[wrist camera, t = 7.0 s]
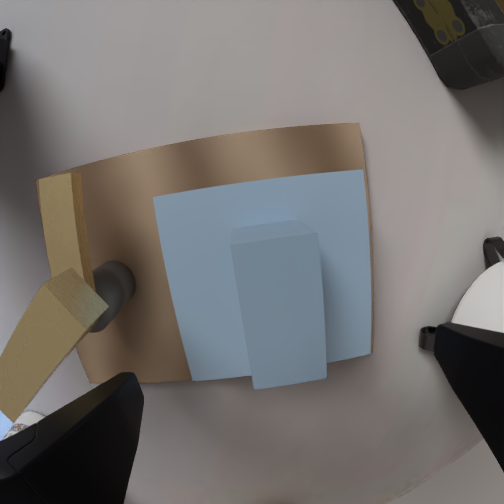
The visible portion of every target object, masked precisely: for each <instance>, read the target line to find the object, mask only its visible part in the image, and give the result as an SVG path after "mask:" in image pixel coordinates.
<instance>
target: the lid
mask: <svg viewBox="0 0 504 504" xmlns="http://www.w3.org/2000/svg"><path fill="white" fill-rule="evenodd" d="M153 202H154V208H155V214H156V220H157V226H158V232H159V237H160V243H161V248H162V253H163V258H164V263H165V268H166V273H167V278H168V283H169V287H170V292H171V296H172V301H173V305H174V310H175V314H176V318H177V322H178V326H179V330H180V335H181V339H182V342H183V346H184V350H185V354H186V358H187V362H188V365H189V369H190V373H191V376H192V380H193V381H204V380H215V379H225V378H235V377H243V376H251V375H252V381H253V387H254V390H258V389H265V388H272V387H279V386H286V385H292V384H298V383H304V382H309V381H315V380H320V379H325V378H327V364H326V363H331V362H336V361H341V360H346V359H350V358H355V357H359V356H364V355H368V354H370V351H371V266H370V244H369V227H368V214H367V202H366V192H365V182H364V173H363V169H362V170H349V171H338V172H327V173H317V174H307V175H298V176H289V177H281V178H273V179H265V180H257V181H250V182H242V183H235V184H228V185H222V186H215V187H209V188H202V189H196V190H190V191H184V192H179V193H173V194H167V195H162V196H156V197H153Z"/></svg>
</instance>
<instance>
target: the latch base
mask: <svg viewBox="0 0 504 504" xmlns="http://www.w3.org/2000/svg"><path fill="white" fill-rule="evenodd" d="M362 169H363V173H364V182H365V192H366V202H367V214H368V227H369V244H370V266H371V351H370V353H372V352H373V327H374V283H373V252H372V233H371V219H370V206H369V195H368V185H367V176H366V167H365V159H364V151H363V144H362V137H361V131H360V124H359V123H342V124H324V125H309V126H297V127H286V128H276V129H266V130H258V131H250V132H242V133H235V134H228V135H221V136H215V137H208V138H202V139H196V140H191V141H185V142H180V143H175V144H170V145H165V146H160V147H155V148H150V149H146V150H141V151H137V152H132V153H128V154H124V155H120V156H116V157H112V158H108V159H104V160H100V161H97V162H93V163H89V164H86V165H82V166H79V167H75V168H72V169H69V170H65V171H62V172H59V173H56V174H52V175H49V176H46V177H43V178H40V179H44V178H48V177H53V176H57V175H62V174H67V173H81V186H82V198H83V208H84V217H85V226H86V234H87V241H88V248H89V254H90V261H91V267H92V272H93V278H94V283H95V288H96V293H97V294H98V295H99V296H100V297H101V298H102V300H103V301H104V302H105V303H106V304H107V305H108V306H109V307H108V308H107V309H106V310H105V311H104V313H103V314H102V315H101V316H100V319H99V321H98V323H97V324H96V325H95V326H94V327H93V328H92V329H91V330H90V331H89V333H88V334H87V335H86V336H85V337H84V338H83V339H82V340H81V341H80V342H79V343H78V345H77V346H76V349H77V352H78V354H79V357H80V360H81V362H82V365H83V367H84V370H85V372H86V375H87V377H88V379H89V382H90V383H104V382H106V381H107V380H109V379H111V378H112V377H114V376H116V375H117V374H119V373H121V372H133V373H135V375H136V376H137V379H138V382H139V383H156V382H176V381H191V380H192V376H191V373H190V369H189V365H188V362H187V358H186V354H185V350H184V346H183V342H182V339H181V335H180V330H179V326H178V322H177V318H176V314H175V310H174V305H173V301H172V296H171V292H170V287H169V283H168V278H167V273H166V268H165V263H164V258H163V253H162V248H161V243H160V237H159V232H158V226H157V220H156V214H155V208H154V202H153V197H156V196H162V195H167V194H173V193H179V192H184V191H190V190H196V189H202V188H209V187H215V186H222V185H228V184H235V183H242V182H250V181H257V180H265V179H273V178H281V177H289V176H298V175H307V174H317V173H327V172H338V171H349V170H362ZM36 187H37V195H38V202H39V208H40V214H41V220H42V212H41V202H40V190H39V179H37V180H36ZM42 226H43V220H42ZM43 231H44V228H43Z"/></svg>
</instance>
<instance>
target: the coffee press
mask: <svg viewBox="0 0 504 504" xmlns="http://www.w3.org/2000/svg"><path fill="white" fill-rule="evenodd" d="M494 246H495V248H496V249H497V251H498V252H499V254H500V255H501V256H502V257H503V258H504V241H503V240H502V238H500V237H492V238H487V239H485V241H484V244H483V249H484V252H485V255H486V257H487V259H488V262H489V264H490V268H488V269H487V270H486V271H484V272H483V273H482V274H481V275H480V276H479V277H478V278H477V279H476V280H475V281H474V282H473V284H472V285H471V286H470V287H469V289H468V290H467V292H466V293H465V295H464V296H463V298H462V299H461V301H460V303H459V305H458V307H457V309H456V311H455V313H454V315H453V318H452V321H451V323H456V324H461V325H466V326H471V327H476V328H481V329H487V330H492V331H497V332H502V333H504V261H501V262H500V260H499V258H498V256H497V253H496V251H495V249H494ZM436 328H437V327H431V326H427V327H423V328H422V329H421V332H420V341H419V346H420V347H421V348H422V349H425V350H429V351H433V352H434V350H433V349H434V341H435V333H436Z"/></svg>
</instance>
